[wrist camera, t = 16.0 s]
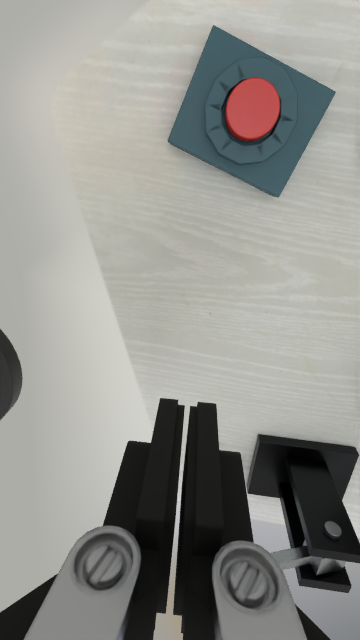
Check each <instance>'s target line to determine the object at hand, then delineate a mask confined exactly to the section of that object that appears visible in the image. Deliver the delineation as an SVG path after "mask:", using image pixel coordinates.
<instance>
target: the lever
mask: <svg viewBox="0 0 360 640" xmlns="http://www.w3.org/2000/svg"><path fill="white" fill-rule="evenodd" d="M271 555H272V556H273V557H274V558H275V559H276V560H277V562H278V563H279V565H280V567H281V569H282V570H284V569H289V568H293V567H298V566H302V565H306V564H310V565H311V566H312V568H313V570H314V572H315V573H316V575H319V574H323V573H328V572H332V571H336V570H340V569H343V567H344V565H345V562H346V561H341V560H334V559H327V558H321V557H314V556H310V555H309V551H308V547H307V543H306V540H304V543H303V546H301V547H297V548H292V549H287V550H282V551H278V552H273V553H271Z"/></svg>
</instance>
